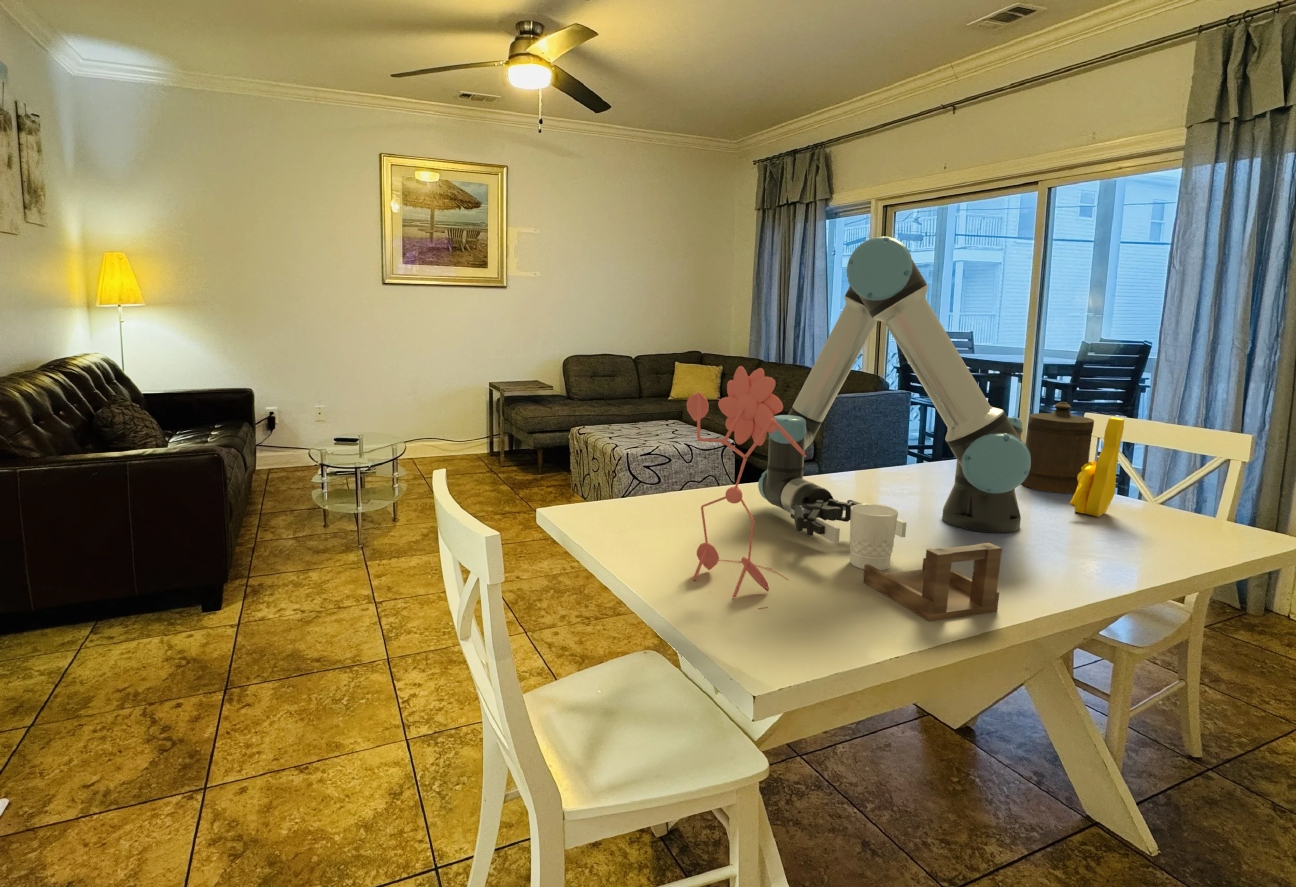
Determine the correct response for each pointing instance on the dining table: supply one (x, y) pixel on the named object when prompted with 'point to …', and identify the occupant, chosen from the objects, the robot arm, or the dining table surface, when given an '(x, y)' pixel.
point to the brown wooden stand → (944, 583)
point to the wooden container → (1057, 449)
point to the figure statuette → (1100, 474)
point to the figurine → (746, 416)
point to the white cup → (872, 535)
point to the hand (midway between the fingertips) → (871, 532)
